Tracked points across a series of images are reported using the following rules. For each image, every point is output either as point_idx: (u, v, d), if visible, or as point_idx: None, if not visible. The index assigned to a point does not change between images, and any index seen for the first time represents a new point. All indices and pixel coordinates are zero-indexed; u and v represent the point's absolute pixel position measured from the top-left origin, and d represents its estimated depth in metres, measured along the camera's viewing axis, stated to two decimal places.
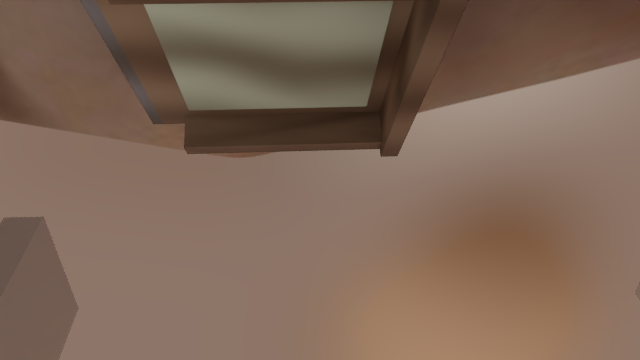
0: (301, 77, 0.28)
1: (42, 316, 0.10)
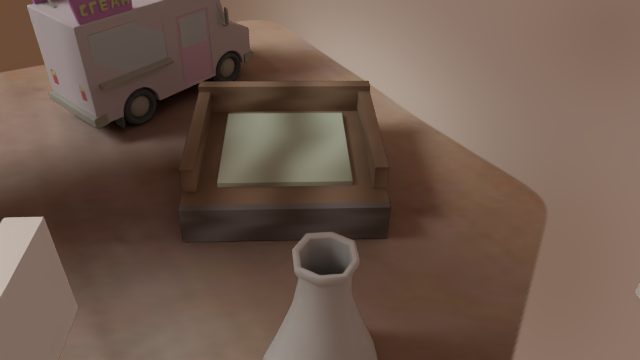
0: (304, 135, 0.45)
1: (42, 316, 0.10)
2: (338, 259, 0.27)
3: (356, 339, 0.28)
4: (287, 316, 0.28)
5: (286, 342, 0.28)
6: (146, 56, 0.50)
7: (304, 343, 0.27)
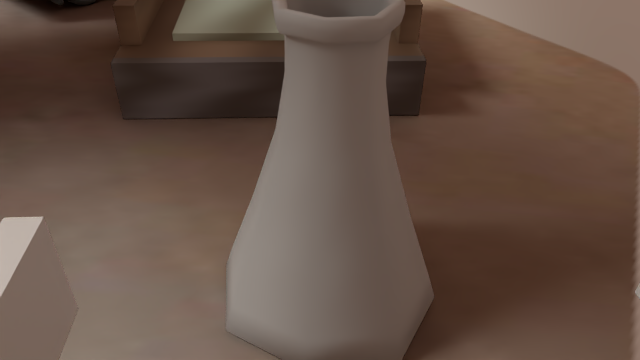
0: None
1: (42, 316, 0.10)
2: None
3: (392, 191, 0.15)
4: (267, 157, 0.16)
5: (265, 197, 0.15)
6: None
7: (298, 190, 0.14)
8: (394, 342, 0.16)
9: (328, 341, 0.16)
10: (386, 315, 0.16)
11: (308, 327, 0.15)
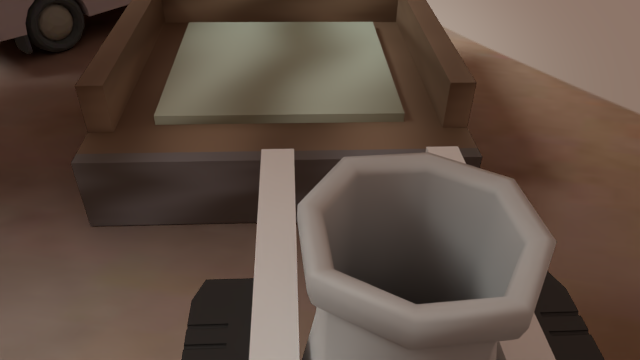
0: (313, 49, 0.27)
1: None
2: (444, 246, 0.08)
3: None
4: None
5: None
6: None
7: None
8: None
9: None
10: None
11: None
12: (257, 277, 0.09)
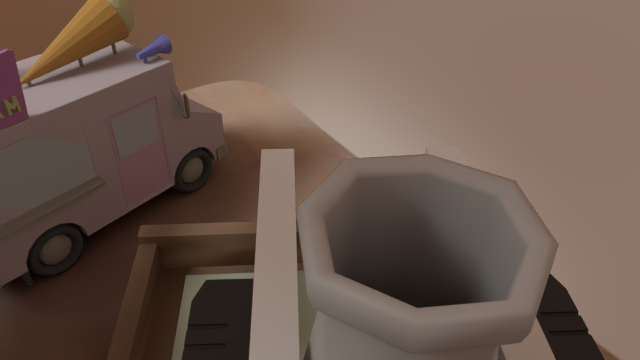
0: (306, 323, 0.28)
1: None
2: (445, 247, 0.08)
3: None
4: None
5: None
6: (59, 181, 0.32)
7: None
8: None
9: None
10: None
11: None
12: (257, 277, 0.09)
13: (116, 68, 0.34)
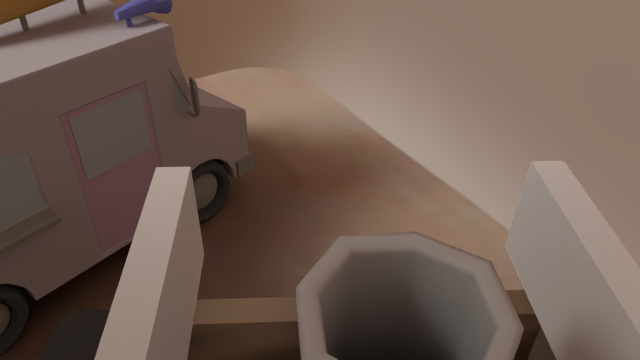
0: None
1: (191, 253, 0.12)
2: (429, 314, 0.09)
3: None
4: None
5: None
6: None
7: None
8: None
9: None
10: None
11: None
12: (113, 311, 0.09)
13: (82, 33, 0.21)
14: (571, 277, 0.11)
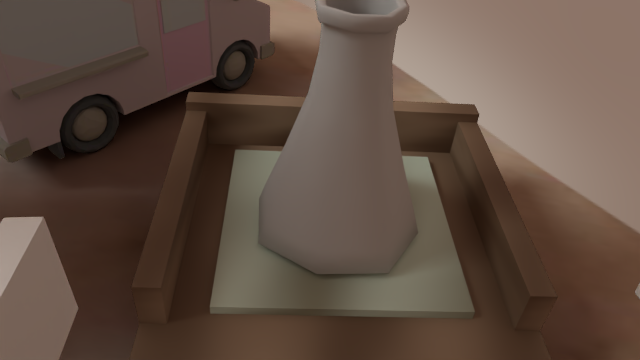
0: None
1: (42, 316, 0.10)
2: None
3: (391, 144, 0.21)
4: (300, 113, 0.21)
5: (297, 142, 0.21)
6: (100, 43, 0.29)
7: (323, 137, 0.20)
8: (384, 258, 0.21)
9: (335, 252, 0.21)
10: (379, 236, 0.21)
11: (322, 240, 0.21)
12: None
13: None
14: None
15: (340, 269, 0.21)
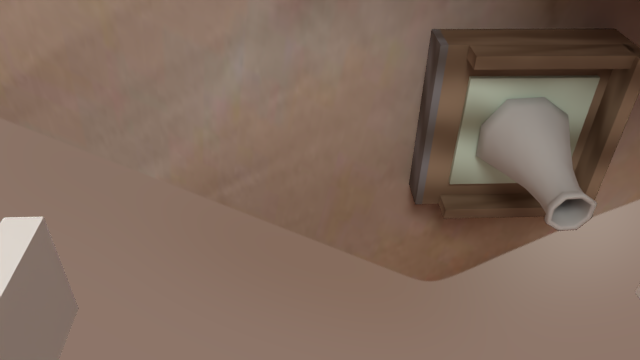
0: None
1: (42, 316, 0.10)
2: (573, 208, 0.38)
3: None
4: (555, 150, 0.39)
5: (536, 146, 0.39)
6: None
7: (528, 161, 0.39)
8: (481, 157, 0.44)
9: (486, 139, 0.43)
10: (488, 161, 0.43)
11: (491, 136, 0.42)
12: None
13: None
14: None
15: (480, 136, 0.44)
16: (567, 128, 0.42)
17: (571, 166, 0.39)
